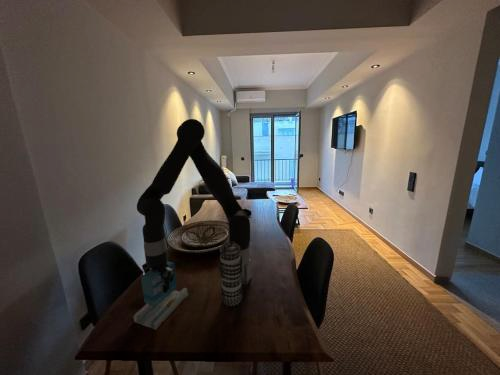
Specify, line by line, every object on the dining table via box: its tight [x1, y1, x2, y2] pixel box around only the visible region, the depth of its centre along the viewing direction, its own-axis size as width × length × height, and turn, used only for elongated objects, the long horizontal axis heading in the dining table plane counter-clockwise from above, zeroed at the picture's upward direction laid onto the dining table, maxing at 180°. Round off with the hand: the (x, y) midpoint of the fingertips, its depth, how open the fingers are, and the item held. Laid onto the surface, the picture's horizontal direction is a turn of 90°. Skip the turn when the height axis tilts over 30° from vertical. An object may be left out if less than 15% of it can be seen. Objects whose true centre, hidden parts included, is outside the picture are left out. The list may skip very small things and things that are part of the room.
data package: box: [140, 260, 178, 307], centre depth 79 cm, size 12×4×12 cm, turn 156°
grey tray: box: [133, 287, 189, 331], centre depth 81 cm, size 10×18×4 cm, turn 160°
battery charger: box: [242, 208, 252, 217], centre depth 183 cm, size 13×10×4 cm
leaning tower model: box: [218, 241, 244, 307], centre depth 82 cm, size 9×9×25 cm
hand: (160, 289), depth 79 cm, fingers closed on data package, 4 cm apart
